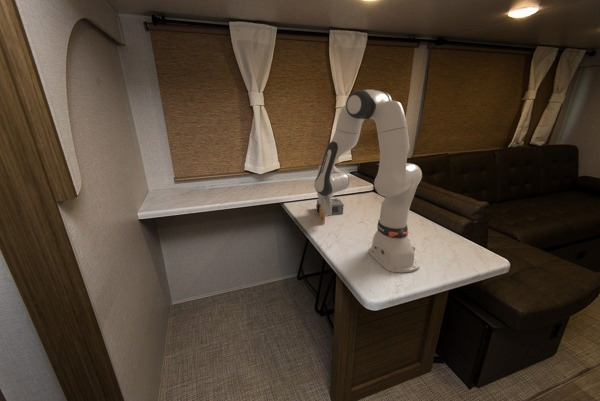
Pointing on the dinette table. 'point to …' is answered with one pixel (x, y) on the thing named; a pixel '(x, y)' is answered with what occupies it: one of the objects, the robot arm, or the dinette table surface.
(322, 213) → the side door
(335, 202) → the camera block
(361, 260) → the dinette table surface
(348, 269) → the dinette table surface
